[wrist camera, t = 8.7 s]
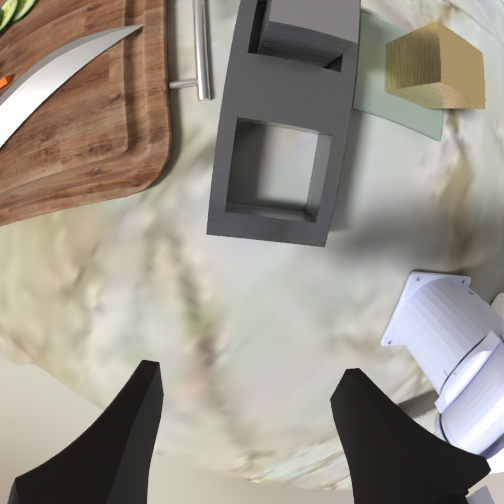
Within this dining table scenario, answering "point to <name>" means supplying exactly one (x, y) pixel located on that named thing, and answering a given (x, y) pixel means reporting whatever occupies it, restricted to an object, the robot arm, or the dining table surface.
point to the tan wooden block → (435, 69)
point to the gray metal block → (309, 29)
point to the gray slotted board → (286, 116)
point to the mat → (373, 81)
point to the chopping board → (86, 100)
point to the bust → (499, 304)
